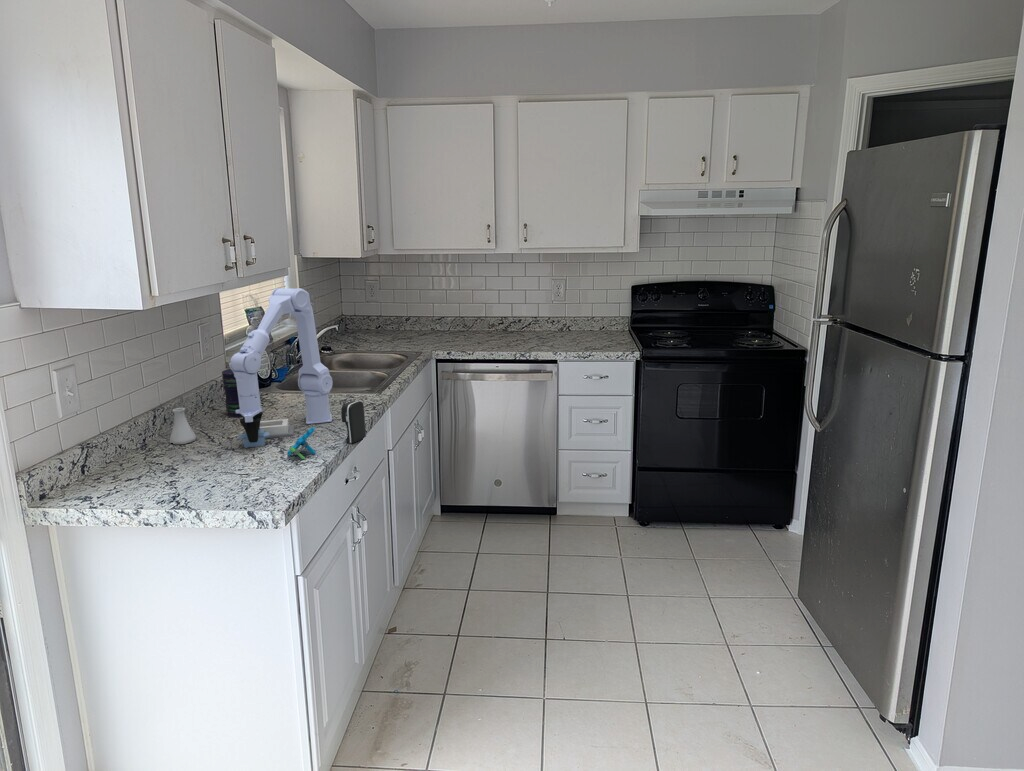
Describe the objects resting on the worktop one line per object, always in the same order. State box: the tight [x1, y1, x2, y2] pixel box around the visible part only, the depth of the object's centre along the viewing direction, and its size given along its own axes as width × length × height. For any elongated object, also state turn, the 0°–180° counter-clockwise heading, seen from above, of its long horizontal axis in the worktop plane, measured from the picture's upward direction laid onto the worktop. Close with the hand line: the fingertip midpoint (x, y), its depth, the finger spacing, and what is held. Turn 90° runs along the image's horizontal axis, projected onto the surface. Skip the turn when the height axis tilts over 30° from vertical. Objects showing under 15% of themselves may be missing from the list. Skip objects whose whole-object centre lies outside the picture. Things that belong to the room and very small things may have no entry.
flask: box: [168, 407, 198, 445], centre depth 206 cm, size 7×7×10 cm
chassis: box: [260, 418, 295, 440], centre depth 212 cm, size 10×13×3 cm
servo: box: [237, 429, 270, 448], centre depth 202 cm, size 4×8×4 cm, turn 105°
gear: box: [286, 426, 316, 460], centre depth 191 cm, size 11×6×10 cm
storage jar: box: [221, 368, 243, 419], centre depth 235 cm, size 10×10×15 cm
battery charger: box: [340, 400, 367, 444], centre depth 202 cm, size 7×4×11 cm, turn 157°
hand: (254, 439), depth 202 cm, fingers open, 4 cm apart
